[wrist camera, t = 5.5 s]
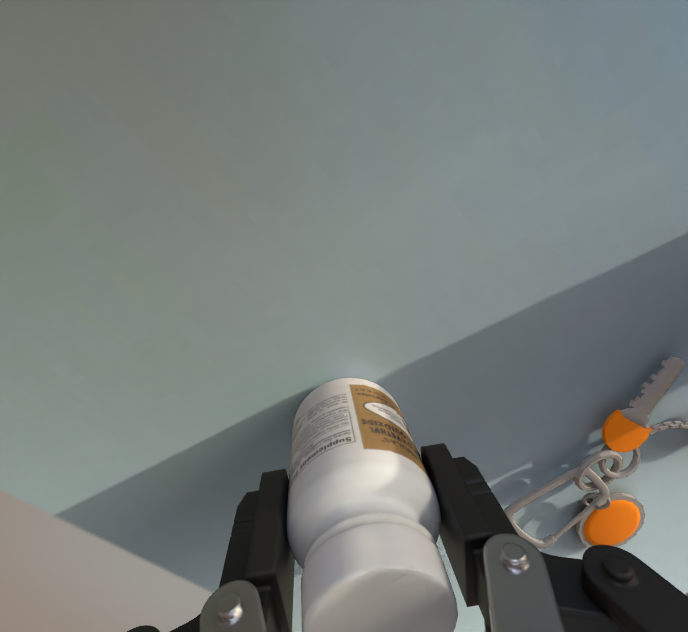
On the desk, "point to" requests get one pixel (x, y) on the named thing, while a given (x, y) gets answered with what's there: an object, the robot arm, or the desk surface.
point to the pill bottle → (364, 517)
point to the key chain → (610, 471)
